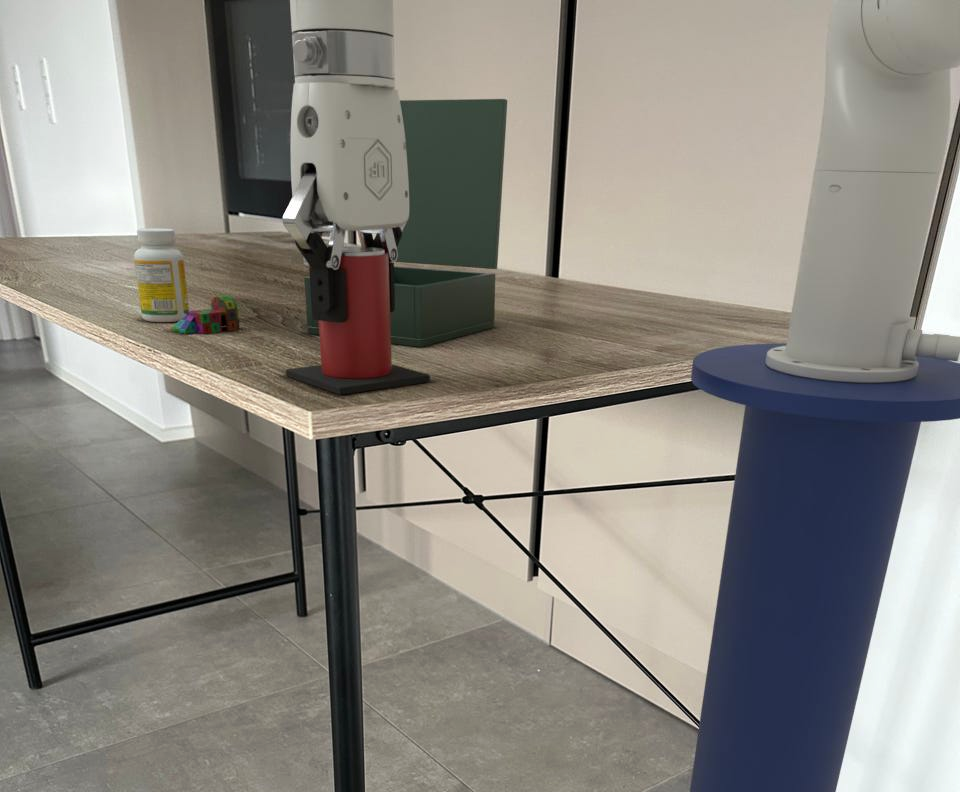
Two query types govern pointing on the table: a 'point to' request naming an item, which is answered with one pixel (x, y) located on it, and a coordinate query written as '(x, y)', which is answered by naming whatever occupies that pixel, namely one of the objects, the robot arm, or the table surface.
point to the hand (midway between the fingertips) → (354, 313)
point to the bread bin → (433, 305)
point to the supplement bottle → (160, 276)
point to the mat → (357, 380)
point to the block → (210, 318)
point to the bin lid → (453, 181)
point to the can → (360, 319)
